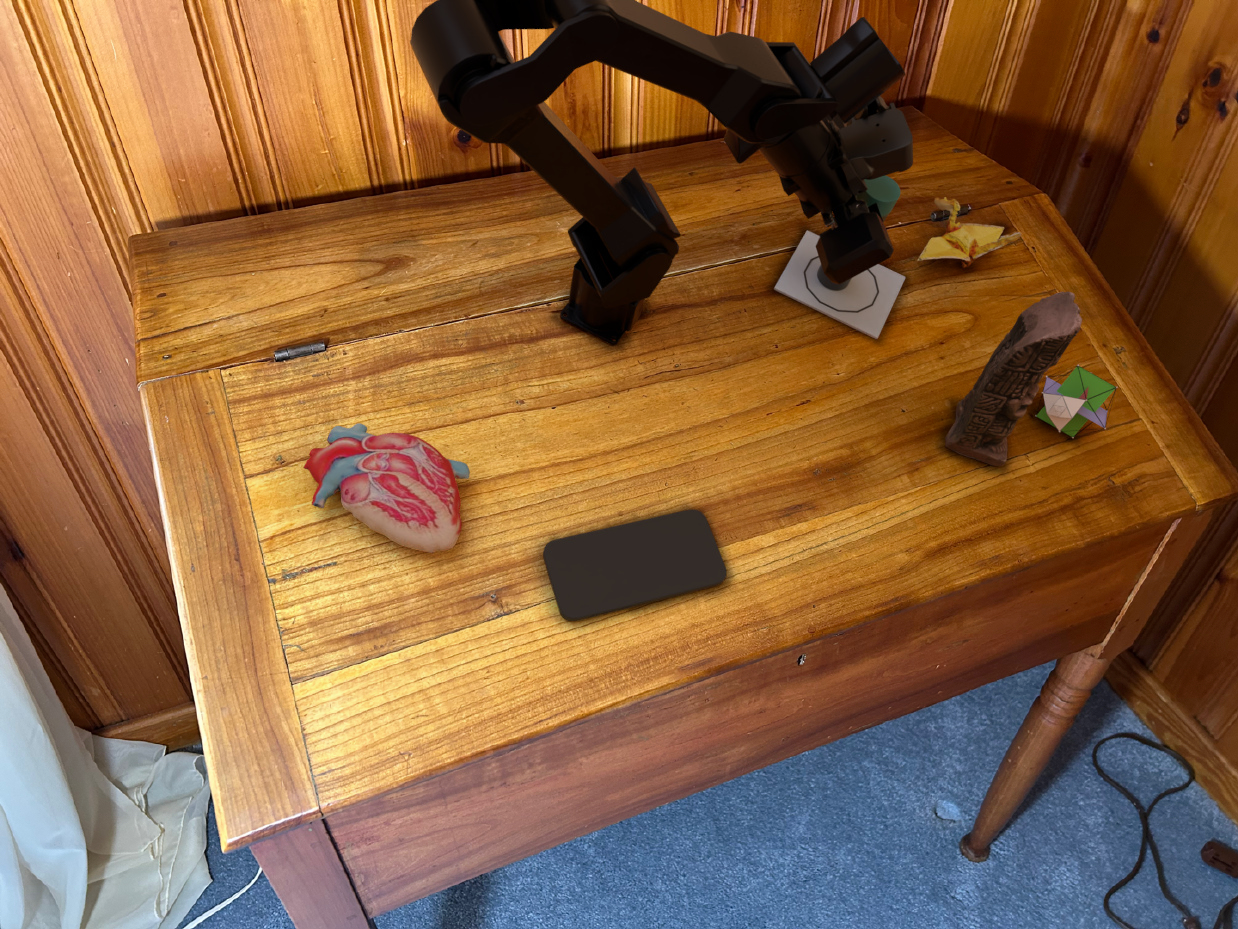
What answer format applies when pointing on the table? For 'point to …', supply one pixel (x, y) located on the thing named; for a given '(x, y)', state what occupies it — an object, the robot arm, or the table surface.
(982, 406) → the statue
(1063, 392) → the geometric puzzle
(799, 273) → the white rectangular board
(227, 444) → the table surface
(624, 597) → the phone
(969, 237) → the origami crane
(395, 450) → the anatomical model
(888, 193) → the dot marker
